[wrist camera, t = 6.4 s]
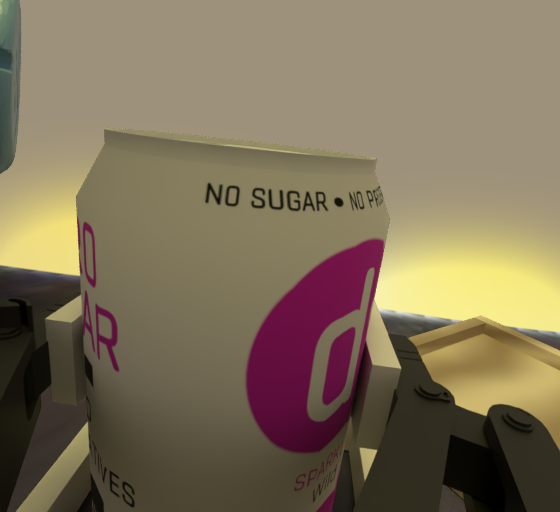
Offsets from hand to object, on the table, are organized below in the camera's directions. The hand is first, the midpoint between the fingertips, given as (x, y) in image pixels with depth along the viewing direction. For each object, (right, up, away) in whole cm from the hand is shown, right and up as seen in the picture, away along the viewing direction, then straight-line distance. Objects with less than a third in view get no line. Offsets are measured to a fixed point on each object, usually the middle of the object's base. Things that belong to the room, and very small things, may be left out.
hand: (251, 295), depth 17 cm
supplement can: (-1, -10, -2) cm, 10 cm away
